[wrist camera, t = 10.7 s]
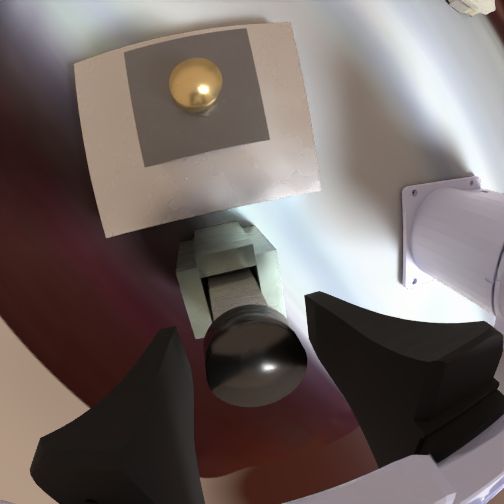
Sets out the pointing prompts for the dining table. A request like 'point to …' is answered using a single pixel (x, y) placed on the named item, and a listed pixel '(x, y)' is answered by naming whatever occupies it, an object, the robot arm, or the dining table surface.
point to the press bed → (202, 168)
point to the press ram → (249, 344)
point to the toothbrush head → (473, 6)
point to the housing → (195, 96)
